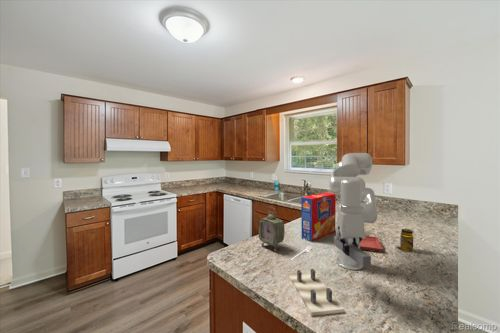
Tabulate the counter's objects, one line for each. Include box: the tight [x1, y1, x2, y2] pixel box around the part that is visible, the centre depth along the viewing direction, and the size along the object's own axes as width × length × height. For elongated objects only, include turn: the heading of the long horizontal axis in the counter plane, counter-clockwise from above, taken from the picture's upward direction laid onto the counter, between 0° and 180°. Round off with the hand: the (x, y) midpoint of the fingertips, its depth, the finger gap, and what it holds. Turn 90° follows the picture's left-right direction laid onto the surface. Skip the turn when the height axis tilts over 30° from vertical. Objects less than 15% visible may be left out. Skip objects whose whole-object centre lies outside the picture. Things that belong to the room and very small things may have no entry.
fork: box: [290, 245, 313, 261], centre depth 120 cm, size 3×20×2 cm, turn 135°
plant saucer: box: [360, 235, 384, 253], centre depth 131 cm, size 18×18×3 cm
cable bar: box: [333, 235, 372, 268], centre depth 87 cm, size 20×3×4 cm, turn 8°
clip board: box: [288, 268, 345, 317], centre depth 85 cm, size 24×12×5 cm, turn 8°
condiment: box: [395, 228, 416, 255], centre depth 123 cm, size 7×8×12 cm
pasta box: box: [300, 192, 337, 243], centre depth 148 cm, size 28×8×28 cm, turn 128°
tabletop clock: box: [257, 206, 285, 252], centre depth 129 cm, size 14×9×25 cm, turn 40°
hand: (350, 253), depth 87 cm, fingers closed on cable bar, 3 cm apart
